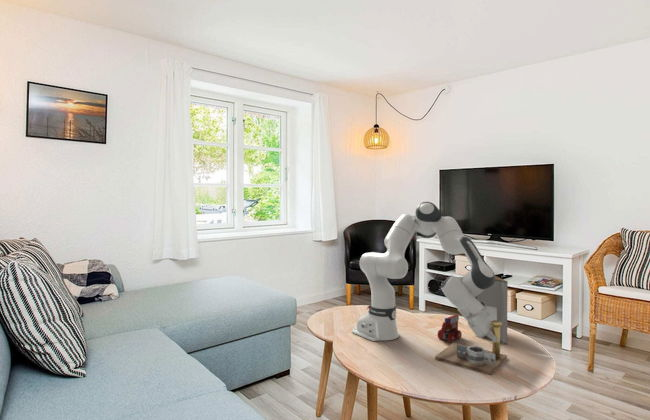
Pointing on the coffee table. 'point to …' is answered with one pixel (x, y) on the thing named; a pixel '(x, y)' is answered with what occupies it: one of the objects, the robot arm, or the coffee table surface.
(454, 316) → the toy fire truck
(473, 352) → the hinge
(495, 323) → the hinge pin
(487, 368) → the walnut board
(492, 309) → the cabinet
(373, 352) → the coffee table surface
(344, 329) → the coffee table surface
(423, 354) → the coffee table surface
